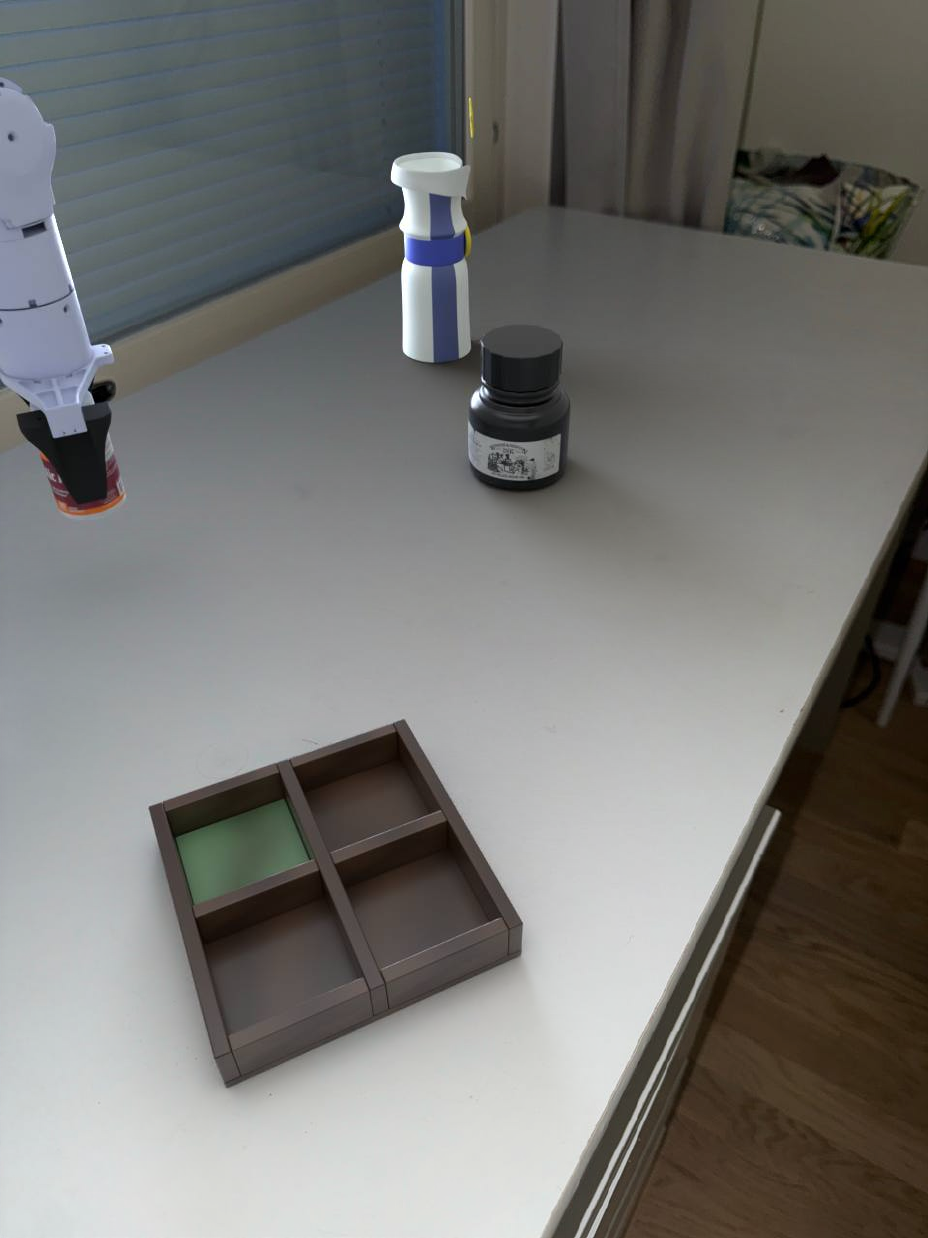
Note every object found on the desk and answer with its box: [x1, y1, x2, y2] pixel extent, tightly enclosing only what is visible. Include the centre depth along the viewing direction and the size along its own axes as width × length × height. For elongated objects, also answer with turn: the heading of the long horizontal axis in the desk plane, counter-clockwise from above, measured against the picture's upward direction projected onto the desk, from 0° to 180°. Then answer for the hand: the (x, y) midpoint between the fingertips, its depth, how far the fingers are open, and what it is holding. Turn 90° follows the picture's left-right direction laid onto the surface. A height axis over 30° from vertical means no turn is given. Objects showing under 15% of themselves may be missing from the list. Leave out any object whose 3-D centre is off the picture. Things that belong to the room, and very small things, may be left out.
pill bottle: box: [29, 390, 127, 522], centre depth 65 cm, size 5×5×8 cm
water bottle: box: [390, 97, 475, 364], centre depth 96 cm, size 8×9×25 cm
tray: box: [148, 718, 524, 1089], centre depth 49 cm, size 15×15×3 cm
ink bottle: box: [467, 323, 572, 490], centre depth 80 cm, size 10×9×12 cm
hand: (86, 481), depth 66 cm, fingers closed on pill bottle, 5 cm apart
